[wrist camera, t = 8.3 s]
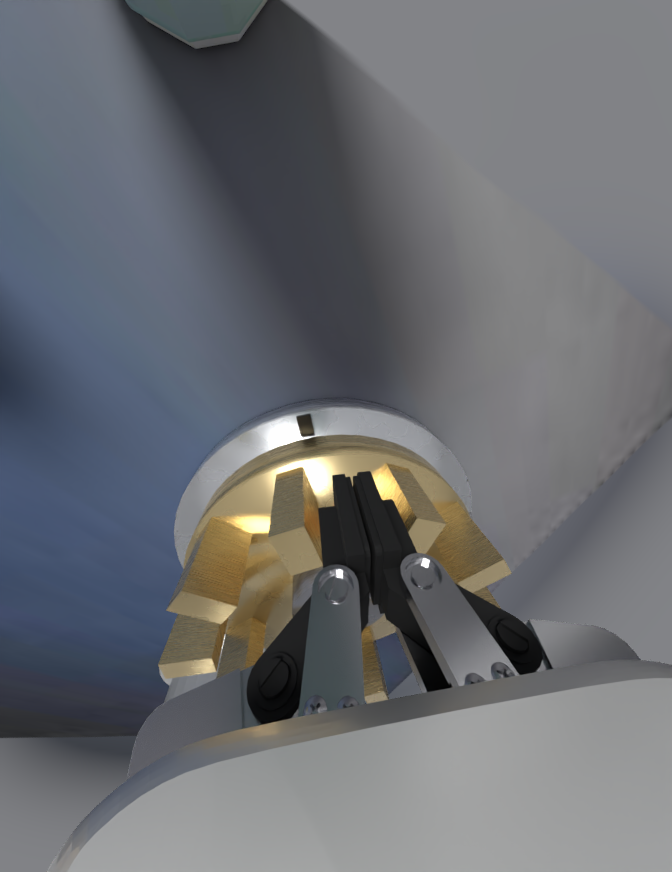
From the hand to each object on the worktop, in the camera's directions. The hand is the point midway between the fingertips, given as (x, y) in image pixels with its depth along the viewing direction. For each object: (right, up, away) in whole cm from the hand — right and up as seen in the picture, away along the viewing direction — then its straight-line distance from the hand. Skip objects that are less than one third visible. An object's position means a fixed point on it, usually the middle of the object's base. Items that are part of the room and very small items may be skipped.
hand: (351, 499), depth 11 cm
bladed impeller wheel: (-1, -6, +8) cm, 10 cm away
